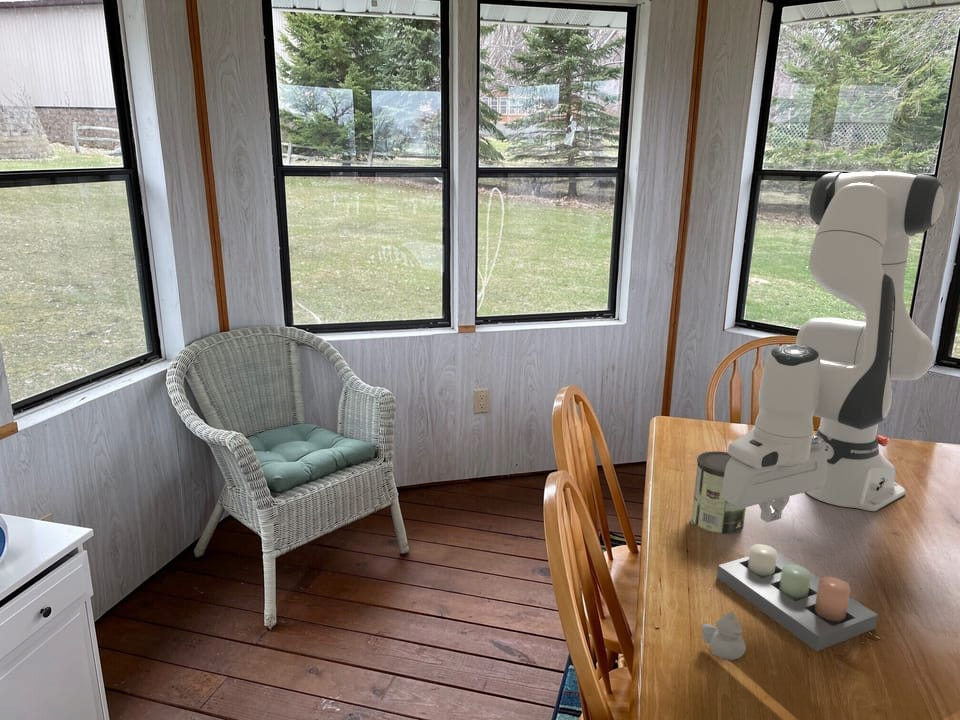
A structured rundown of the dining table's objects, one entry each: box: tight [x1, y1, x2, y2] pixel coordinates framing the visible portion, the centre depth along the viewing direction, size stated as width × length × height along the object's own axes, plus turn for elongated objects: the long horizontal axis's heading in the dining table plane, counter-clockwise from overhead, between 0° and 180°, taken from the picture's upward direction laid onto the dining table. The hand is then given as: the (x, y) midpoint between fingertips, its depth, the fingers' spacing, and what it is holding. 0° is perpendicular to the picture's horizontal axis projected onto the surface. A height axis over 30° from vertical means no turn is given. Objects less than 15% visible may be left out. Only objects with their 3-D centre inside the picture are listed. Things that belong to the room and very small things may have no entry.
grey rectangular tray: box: [716, 551, 879, 652], centre depth 120 cm, size 13×21×4 cm, turn 26°
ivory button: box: [748, 543, 778, 578], centre depth 125 cm, size 4×4×5 cm
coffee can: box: [690, 451, 747, 535], centre depth 144 cm, size 10×10×14 cm
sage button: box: [779, 564, 812, 601], centre depth 119 cm, size 4×4×5 cm
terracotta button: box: [815, 576, 851, 621], centre depth 113 cm, size 4×4×5 cm
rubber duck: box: [701, 610, 747, 662], centre depth 108 cm, size 5×7×8 cm
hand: (770, 519), depth 122 cm, fingers closed
